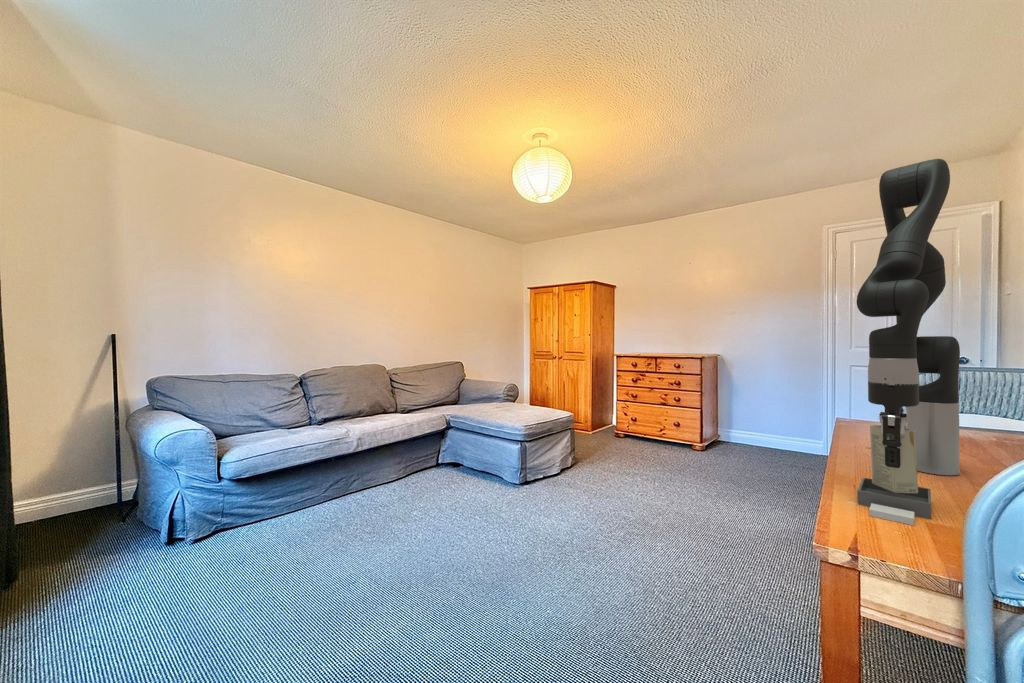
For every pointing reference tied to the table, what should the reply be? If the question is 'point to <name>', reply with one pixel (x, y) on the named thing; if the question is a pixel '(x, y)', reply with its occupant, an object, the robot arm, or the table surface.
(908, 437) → the skincare box
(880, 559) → the table surface
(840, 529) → the table surface
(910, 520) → the grey open tray
